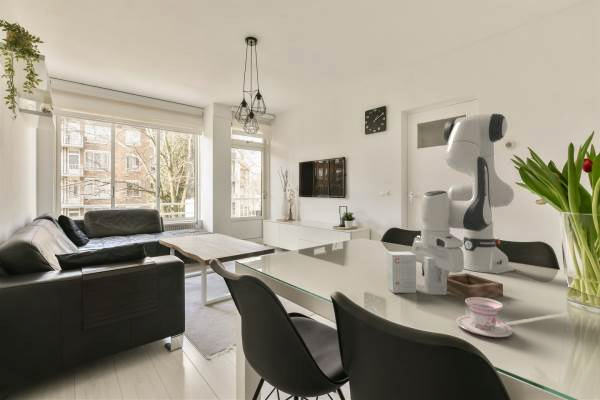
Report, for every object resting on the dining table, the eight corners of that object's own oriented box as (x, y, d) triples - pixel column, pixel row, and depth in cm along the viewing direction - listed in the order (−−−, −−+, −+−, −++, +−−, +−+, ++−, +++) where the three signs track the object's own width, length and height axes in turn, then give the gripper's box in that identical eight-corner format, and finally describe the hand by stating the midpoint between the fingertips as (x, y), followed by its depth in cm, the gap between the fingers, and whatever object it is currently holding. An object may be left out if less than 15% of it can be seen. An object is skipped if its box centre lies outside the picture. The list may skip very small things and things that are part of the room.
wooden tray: (466, 284, 108) (466, 273, 108) (502, 296, 95) (502, 283, 95) (436, 287, 104) (436, 276, 104) (469, 300, 91) (469, 287, 91)
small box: (409, 287, 104) (409, 251, 104) (416, 293, 98) (416, 254, 98) (387, 287, 104) (387, 251, 104) (392, 293, 98) (392, 254, 98)
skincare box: (441, 291, 100) (441, 256, 100) (447, 295, 95) (447, 259, 95) (423, 290, 100) (423, 256, 100) (428, 294, 96) (428, 258, 96)
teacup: (491, 342, 64) (491, 314, 64) (444, 321, 75) (445, 297, 75) (523, 332, 69) (524, 306, 69) (475, 314, 80) (476, 292, 80)
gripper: (407, 235, 107) (407, 272, 107) (451, 243, 87) (451, 289, 87) (421, 234, 109) (421, 271, 109) (467, 242, 89) (467, 287, 89)
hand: (435, 279), depth 98 cm, fingers closed on skincare box, 5 cm apart
